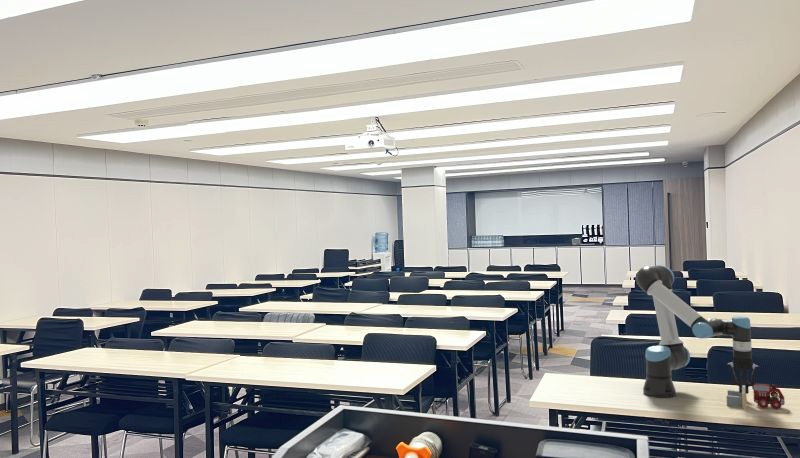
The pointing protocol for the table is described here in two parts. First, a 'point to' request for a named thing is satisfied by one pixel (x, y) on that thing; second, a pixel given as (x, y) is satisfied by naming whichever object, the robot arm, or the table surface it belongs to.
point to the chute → (736, 399)
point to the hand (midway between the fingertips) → (744, 400)
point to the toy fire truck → (767, 396)
